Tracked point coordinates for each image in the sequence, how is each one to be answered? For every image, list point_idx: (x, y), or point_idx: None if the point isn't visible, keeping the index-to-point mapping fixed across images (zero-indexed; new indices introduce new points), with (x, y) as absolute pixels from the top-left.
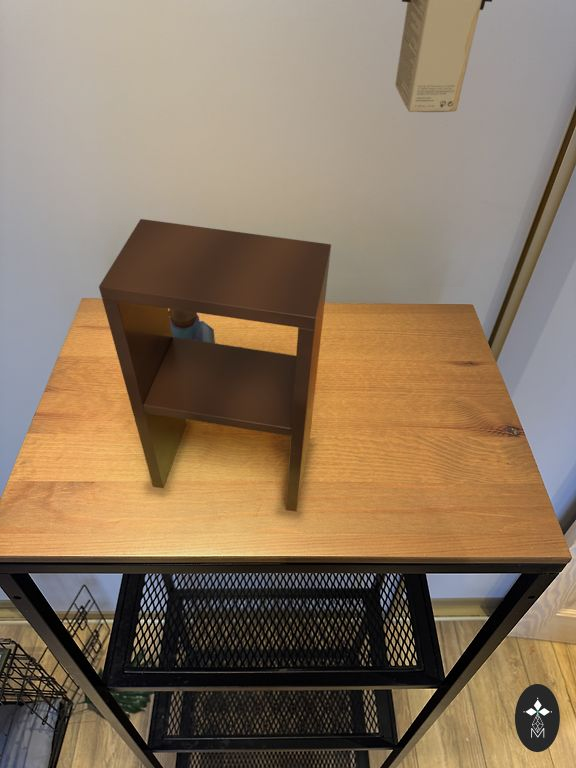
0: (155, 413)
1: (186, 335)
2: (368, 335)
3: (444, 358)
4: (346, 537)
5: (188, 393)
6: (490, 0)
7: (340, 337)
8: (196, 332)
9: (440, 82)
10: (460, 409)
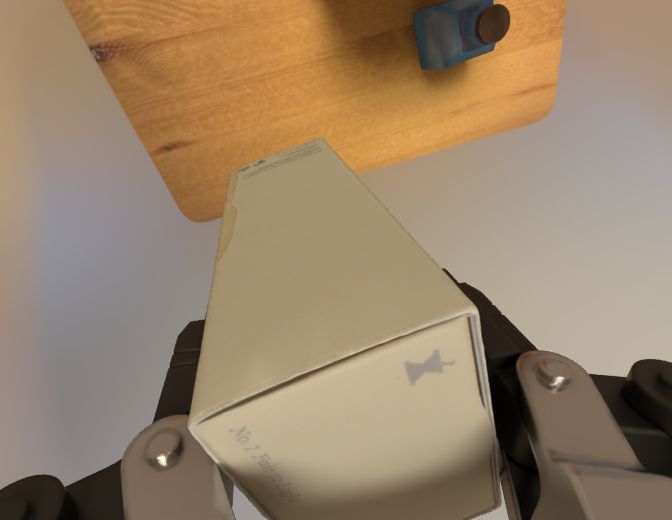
0: None
1: (479, 7)
2: None
3: (197, 147)
4: None
5: None
6: (193, 322)
7: None
8: (467, 24)
9: (276, 168)
10: (162, 72)
